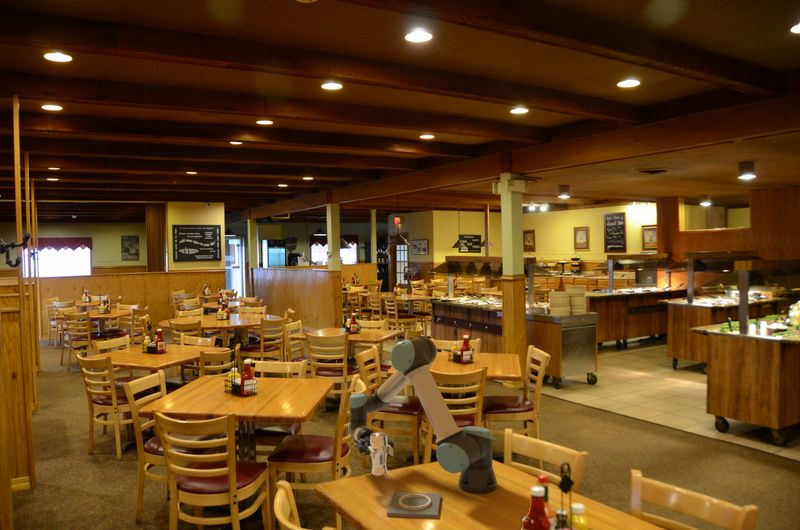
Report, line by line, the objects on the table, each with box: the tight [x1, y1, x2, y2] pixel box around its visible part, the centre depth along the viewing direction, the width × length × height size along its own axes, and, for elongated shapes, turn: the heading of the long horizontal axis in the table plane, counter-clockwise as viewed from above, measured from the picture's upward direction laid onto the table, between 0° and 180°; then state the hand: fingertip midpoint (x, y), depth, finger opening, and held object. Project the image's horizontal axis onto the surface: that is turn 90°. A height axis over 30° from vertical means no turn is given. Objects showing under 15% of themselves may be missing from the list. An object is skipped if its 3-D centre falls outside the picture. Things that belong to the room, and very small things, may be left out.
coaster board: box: [386, 491, 442, 519], centre depth 215 cm, size 18×18×2 cm
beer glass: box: [370, 431, 388, 476], centre depth 229 cm, size 7×7×15 cm
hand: (383, 453), depth 224 cm, fingers closed on beer glass, 7 cm apart
